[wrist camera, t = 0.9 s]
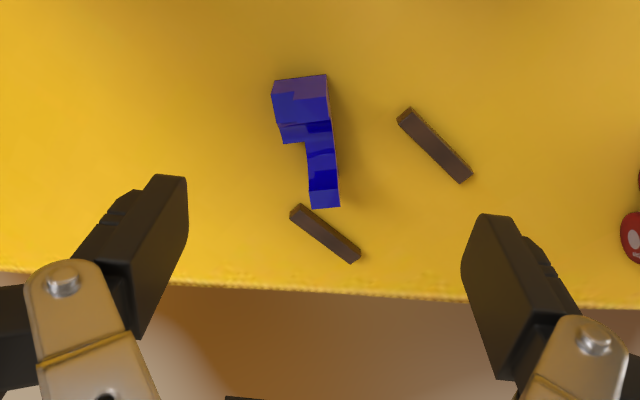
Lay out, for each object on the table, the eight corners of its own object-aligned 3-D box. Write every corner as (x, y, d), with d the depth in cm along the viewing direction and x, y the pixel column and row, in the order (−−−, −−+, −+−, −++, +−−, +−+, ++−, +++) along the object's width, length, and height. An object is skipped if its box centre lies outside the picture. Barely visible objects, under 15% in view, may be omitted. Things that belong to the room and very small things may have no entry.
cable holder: (274, 80, 30) (267, 103, 26) (326, 74, 29) (326, 96, 26) (294, 181, 34) (290, 211, 31) (339, 176, 34) (340, 206, 30)
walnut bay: (289, 211, 36) (288, 219, 35) (410, 105, 30) (412, 111, 30) (349, 257, 38) (350, 265, 37) (470, 167, 33) (474, 174, 32)
